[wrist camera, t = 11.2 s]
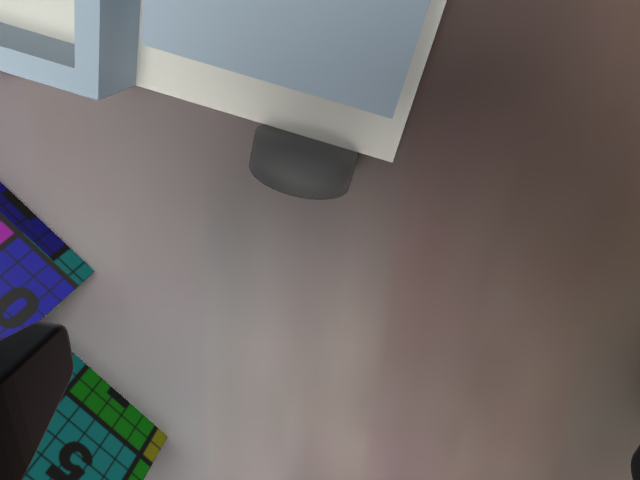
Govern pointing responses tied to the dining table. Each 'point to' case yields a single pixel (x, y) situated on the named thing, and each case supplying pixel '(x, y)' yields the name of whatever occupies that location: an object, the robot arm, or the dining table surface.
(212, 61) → the chassis
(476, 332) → the dining table surface
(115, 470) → the block puzzle
